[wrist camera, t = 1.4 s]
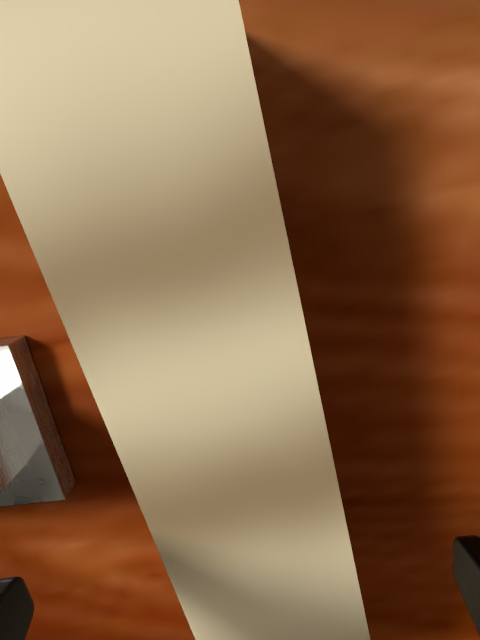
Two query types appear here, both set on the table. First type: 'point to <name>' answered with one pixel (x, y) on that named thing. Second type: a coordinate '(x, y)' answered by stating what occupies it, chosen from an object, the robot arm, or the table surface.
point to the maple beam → (182, 299)
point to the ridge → (28, 433)
